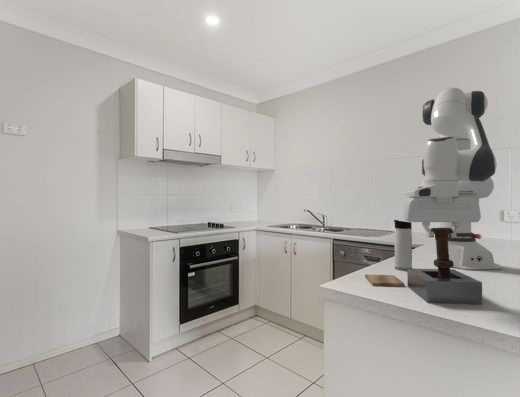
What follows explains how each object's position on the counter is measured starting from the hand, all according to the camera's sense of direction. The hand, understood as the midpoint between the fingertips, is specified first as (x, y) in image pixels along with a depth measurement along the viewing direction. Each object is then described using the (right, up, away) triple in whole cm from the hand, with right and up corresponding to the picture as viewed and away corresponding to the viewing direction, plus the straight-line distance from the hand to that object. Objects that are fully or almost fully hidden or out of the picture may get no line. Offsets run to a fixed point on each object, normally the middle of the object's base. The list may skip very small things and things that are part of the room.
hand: (441, 237), depth 85 cm
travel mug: (+4, -17, +31) cm, 36 cm away
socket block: (0, -17, 0) cm, 17 cm away
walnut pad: (-11, -17, +14) cm, 25 cm away
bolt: (+1, -12, 0) cm, 13 cm away
